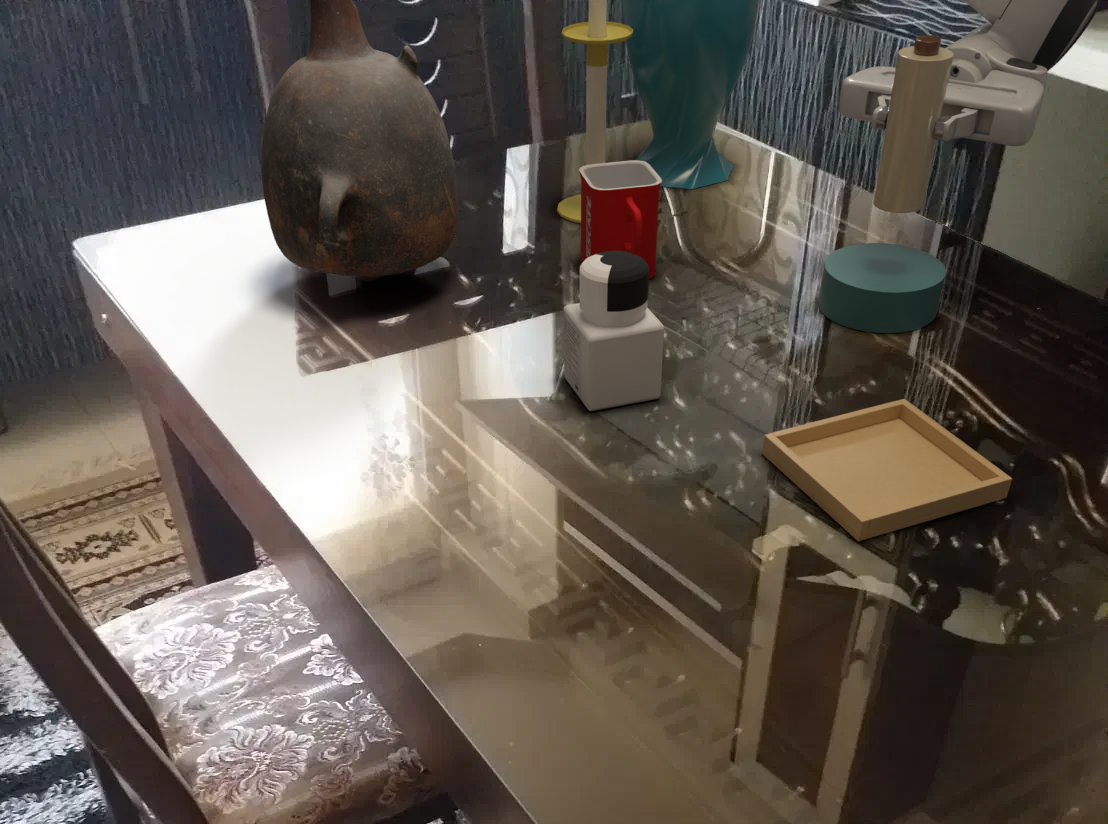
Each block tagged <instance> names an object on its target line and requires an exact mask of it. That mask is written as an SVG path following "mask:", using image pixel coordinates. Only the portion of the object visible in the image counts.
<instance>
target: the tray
mask: <svg viewBox="0 0 1108 824" xmlns="http://www.w3.org/2000/svg"><path fill="white" fill-rule="evenodd" d="M762 443H763V444H762V450H761V454H762V455H763V456H764V457H765V458H766V459H767V460H768V461H769V462H770V463H772V464H773V465H774V466H775V467H776V468H777V469H778V470H779V471H780V472H781V473H782V474H784V475H785V476H786V477H787V478H788V479H789V480H790V481H791V482H792V483H793V484H795V485H796V486H797V488H799V489H800V490H801V491H802V492H803V493H804V494H805V495H806V496H807V497H809V498H810V499H811V500H812V501H813V502H814V503H815V504H816V505H817V506H818V507H819V508H821V509H822V510H823V511H824V512H825V513H827V515H828V516H829V517H831V519H833V520H834V521H835V522H836V523H838V525H839V526H840V527H842V528H843V529H844V530H845V531H846V532H847V533H848V534H849V535H850V536H851V537H852V538H854V539H855V540H856V541H857V542H861V541H865V540H868V539H872V538H874V537H878V536H882V535H885V534H888V533H892V532H895V531H899V530H902V529H905V528H909V527H912V526H915V525H916V526H917V525H919V524H922V523H925V522H929V521H932V520H936V519H940V518H942V517H945V516H946V517H947V516H949V515H953V514H956V513H960V512H964V511H967V510H969V509H973V508H977V507H980V506H984V505H987V504H990V503H994V502H997V501H1000V500H1004V499H1007V497H1008V495H1009V491H1010V489H1011V488H1010V487H1011V484H1012V481H1013V478H1012V477H1011V476H1010V475H1008V474H1007V473H1006V472H1004V471H1003V470H1002V469H1000V468H999V467H997V466H996V465H995V464H993V463H992V462H991V461H990V460H988V459H987V458H985V457H984V456H982V455H981V454H980V453H979V452H978V451H976V450H975V449H973V448H972V447H971V446H969V445H968V444H966V443H965V442H964V441H963V440H961V439H960V438H959V437H957V436H956V435H954V434H953V433H951V432H950V431H949V430H948V429H947V428H945V427H944V426H942V425H941V424H940V423H938V422H937V421H935V420H934V419H933V418H931V417H930V416H929V415H927V414H926V413H925V412H923V411H922V410H921V409H919V408H918V407H917V406H915V405H914V404H912V403H911V402H910V401H909V400H908V399H906V398H902V399H898V400H893V401H889V402H885V403H882V404H878V405H874V406H871V407H865V408H863V409H859V410H854V411H851V412H847V413H843V414H839V415H835V416H831V417H828V418H823V419H820V420H816V421H811V422H809V423H804V424H801V425H796V426H791V427H789V428H785V429H781V430H776V431H773V432H769V433H766V434H764V435H763V442H762Z"/></svg>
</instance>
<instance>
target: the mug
mask: <svg viewBox="0 0 1108 824" xmlns="http://www.w3.org/2000/svg"><path fill="white" fill-rule="evenodd" d="M578 171H579V176H580V194H581V223H580V265H581V264H582V263H583V262H584V260H585V259H587V258H588V257H590V256H592V255H595V254H598V253H601V252H606V251H623V252H628V253H631V254H634V255H637V256H639V257H641V258H642V259H644V260H645V262H646V263H647V264H648V266H649V280H650V279H652V278H653V277H655V276H656V263H657V261H656V259H657V245H658V244H657V242H658V225H659V221H658V220H659V205H660V204H659V203H660V202H659V201H660V189H661V187H662V186H661V183H662V179H661V178H660V177H659V175H658V174H657V173H656V172H655V170H654V169H653V168H652V167H651V166H650V164H648V163H647V162H644V161H639V160H635V159H634V160H633V159H632V160H623V161H610V162H605V163H600V164H590V165H586V164H585V165H582V166H580V167H579V169H578Z"/></svg>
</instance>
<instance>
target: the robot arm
mask: <svg viewBox="0 0 1108 824" xmlns="http://www.w3.org/2000/svg"><path fill="white" fill-rule="evenodd" d="M1101 1H1102V0H963V2H965V3H966V4H967V5H968V6H970V7H971V8H972V9H973V10H975V11H976V12H977V13H978V14H979V15H980V16H982V17H983V18H984V19H985V20H987V21H988V22H986V23H983V24H982V25H980V26H978V27H976V28H974V29H973V30H971V31H970V32H968V33H967V34H966V35H964V36H963V37H961V38H959V39H957V40H956V41H954V42H952V43H951V44H949V45H948V46H946V47H944V48H945V49H948V50H950V51H952V52H953V54H954V56H953V61H952V66H951V71H950V76H949V81H948V86H947V91H946V96H945V101H944V106H943V111H942V116H941V118H940V119H938V120H937V121H936V124H935V132H934V133H933V139H936V140H937V141H943V142H949V141H950V140H958V139H967V140H969V139H970V140H975V141H981V142H985V143H992V144H996V145H997V144H998V145H1003V146H1007V147H1008V146H1009V147H1021V146H1025V145H1026V144H1027V143H1029V142H1030V140H1031V139H1032V137H1033V135H1034V132H1035V128H1036V125H1037V121H1038V118H1039V115H1040V112H1041V110H1042V109H1041V108H1042V105H1043V101H1044V97H1045V92H1046V87H1047V81H1048V74H1049V73H1048V72H1049V71H1050V70H1051V69H1053V68H1054V67H1056V65H1058V63H1059V62H1060V61H1061V60H1062V59H1063V58H1064V57H1065V56H1066V55H1067V54H1068V52H1069V51H1071V49H1072V48H1073V46H1074V45H1075V44H1076V43H1077V42H1078V40H1079V39H1080V38H1081V36H1082V35H1083V34H1084V33H1085V31H1086V29H1087V28H1088V26H1089V25H1090V23H1091V22H1092V20H1093V18H1094V17H1095V15H1096V13H1097V11H1098V9H1099V8H1100V4H1101ZM895 68H896V66H895V67H894V66H887V65H885V66H884V65H878V66H872V67H868V68H865V69H862V70H860V71H857V72H854V73H852V74H850V75H848V76H847V77H845V78H844V79H843V80H842V83H841V87H840V94H839V101H838V112H839V114H840V115H841V116H842V117H843V118H846V119H853V120H859V121H864V122H870V129H873V130H881V131H885V127H886V121H887V115H888V109H889V103H890V98H891V92H892V86H893V80H894V74H895Z"/></svg>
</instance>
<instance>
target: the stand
mask: <svg viewBox="0 0 1108 824" xmlns="http://www.w3.org/2000/svg"><path fill="white" fill-rule="evenodd" d="M821 275H822V276H821V282H820V287H819V296H818V301H817V302H818V303H817V305H818V309H819V310H820V312H821V313H822V314H823V316H824V317H826V318H827V319H829V320H830V321H832V322H834V323H835V324H838V325H841V326H842V327H846V328H848V329H853V330H856V331H861V332H867V333H873V334H875V333H876V334H898V333H906V332H912V331H916V330H919V329H921V328H924V327H926V326H927V325H930V324H931V323H932V322H933V321H934V320H935V319H936V317H937V315H938V310H939V305H940V302H941V297H942V292H943V289H944V286H945V285H944V284H945V280H946V276H947V268H946V266H945V264H944V263H943V262H942V261H941V260H940V259H939V258H937V257H936V256H934V255H933V254H930V253H929V252H926V251H925V250H924V251H923V250H922V249H918V248H914V247H911V246H907V245H900V244H895V243H886V242H868V243H867V242H866V243H857V244H851V245H848V246H843V247H841V248H838V249H835V250H834V251H832V252H831V253H829V254H828V255H827V256H826V258H825V259H824V263H823V268H822V274H821Z"/></svg>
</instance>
